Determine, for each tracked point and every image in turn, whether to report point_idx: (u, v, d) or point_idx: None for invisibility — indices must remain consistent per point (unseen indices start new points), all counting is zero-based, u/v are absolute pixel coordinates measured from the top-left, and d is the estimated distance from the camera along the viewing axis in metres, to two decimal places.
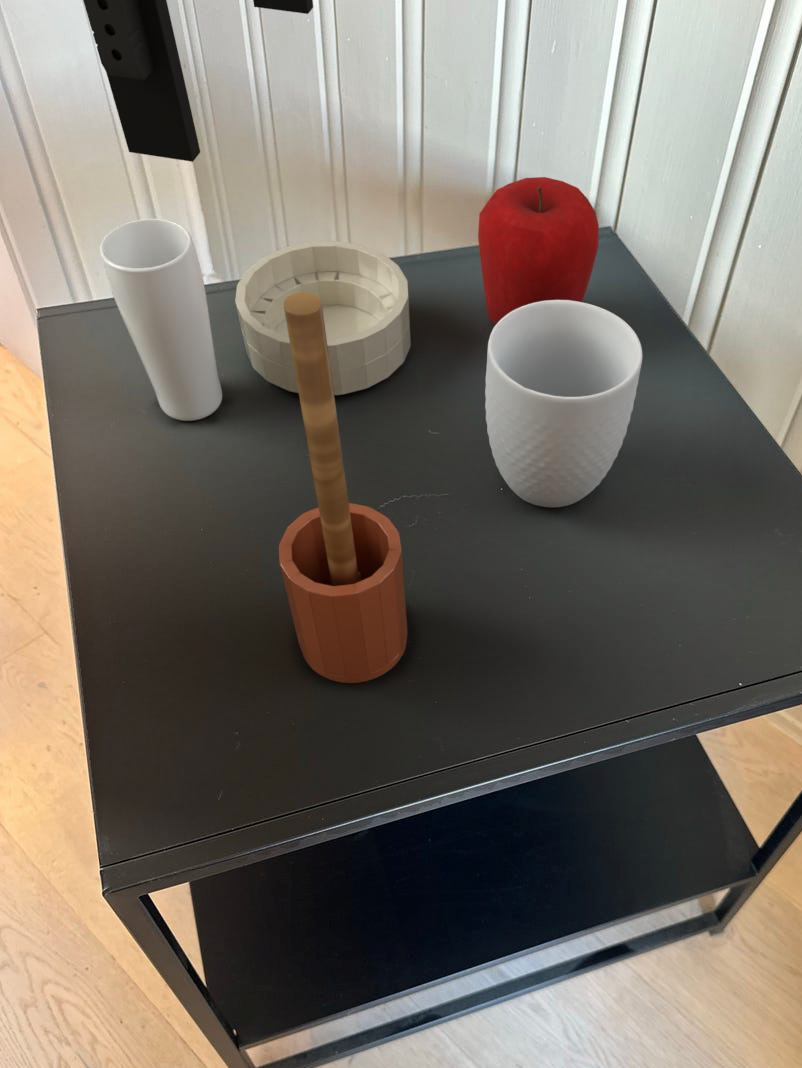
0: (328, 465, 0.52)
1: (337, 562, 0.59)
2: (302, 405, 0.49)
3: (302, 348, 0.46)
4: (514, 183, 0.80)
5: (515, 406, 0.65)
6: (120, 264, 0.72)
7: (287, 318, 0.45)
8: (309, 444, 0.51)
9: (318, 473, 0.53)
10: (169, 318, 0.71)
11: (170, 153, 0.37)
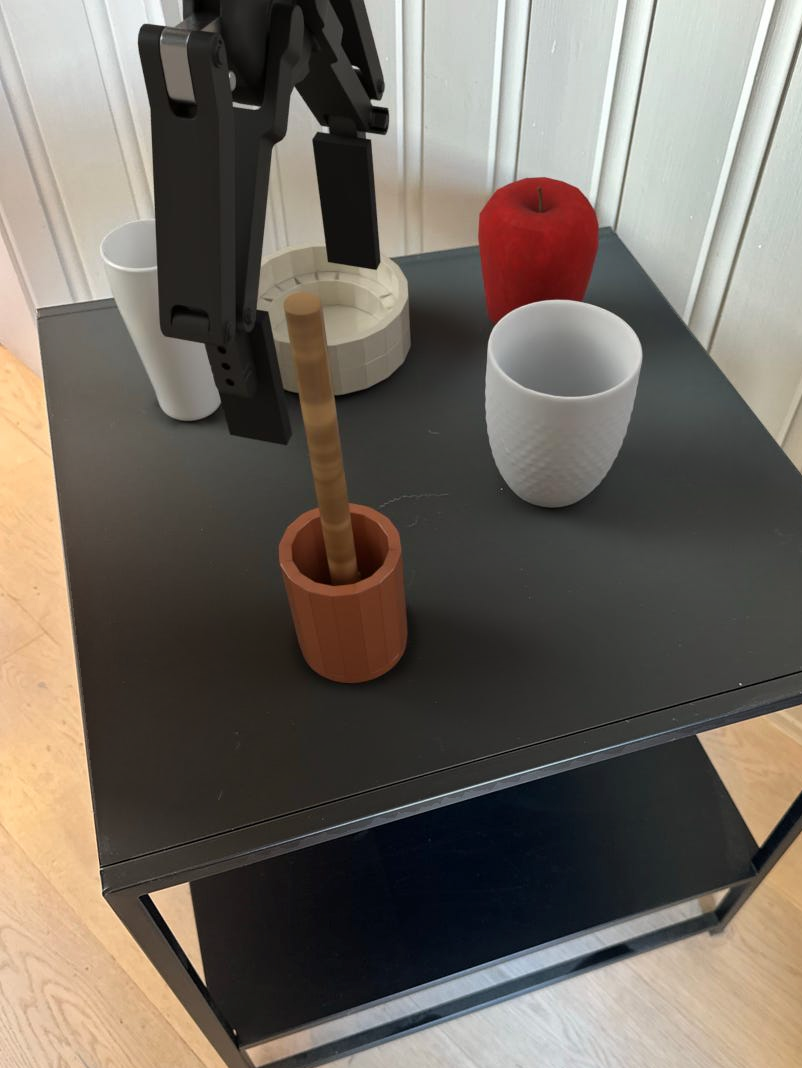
0: (328, 465, 0.52)
1: (337, 562, 0.59)
2: (302, 405, 0.49)
3: (302, 348, 0.46)
4: (514, 183, 0.80)
5: (515, 406, 0.65)
6: (120, 264, 0.72)
7: (287, 318, 0.45)
8: (309, 444, 0.51)
9: (318, 473, 0.53)
10: None
11: (267, 438, 0.42)
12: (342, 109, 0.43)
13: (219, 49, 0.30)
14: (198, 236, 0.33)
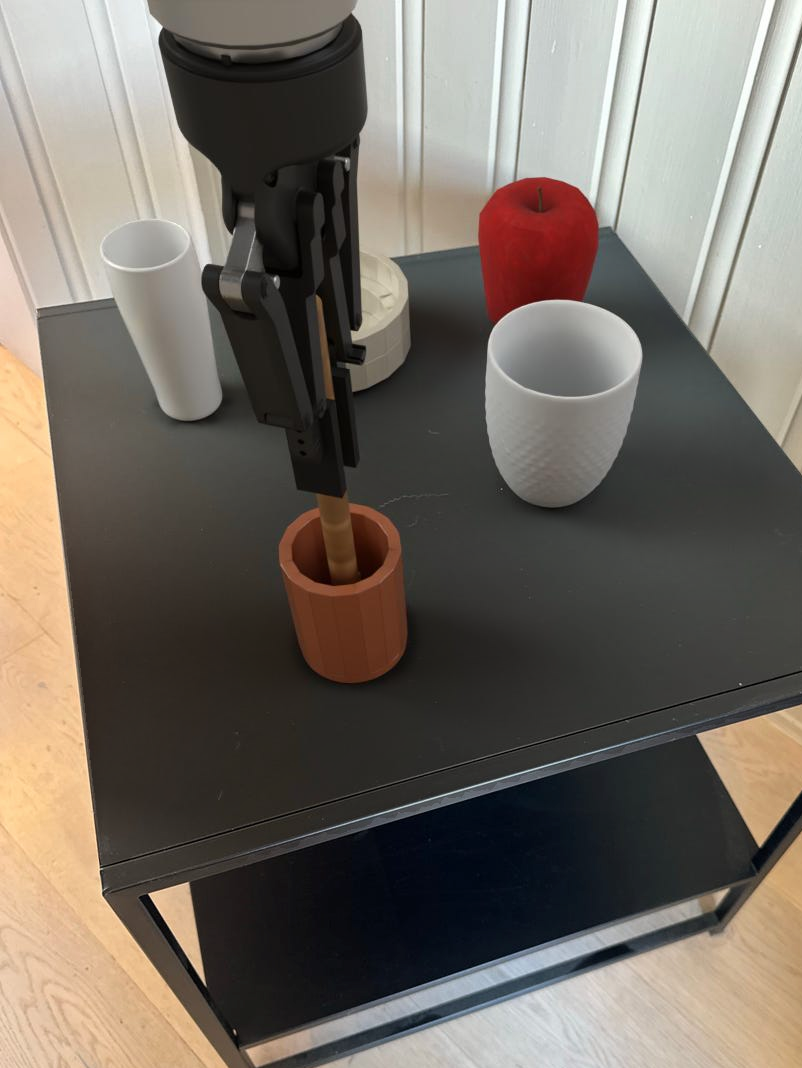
0: None
1: (337, 562, 0.59)
2: None
3: None
4: (514, 183, 0.80)
5: (515, 406, 0.65)
6: (120, 264, 0.72)
7: None
8: None
9: None
10: (169, 318, 0.71)
11: (326, 493, 0.53)
12: (327, 326, 0.47)
13: (266, 289, 0.37)
14: (274, 380, 0.42)
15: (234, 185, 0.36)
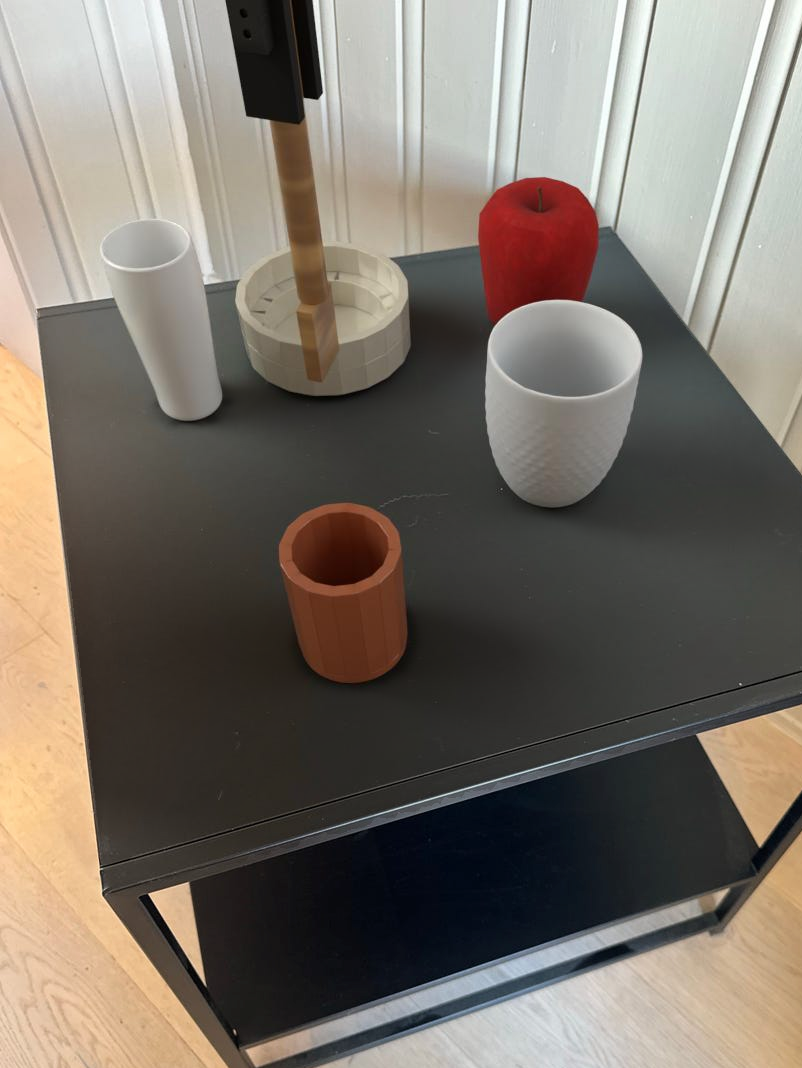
0: None
1: (300, 243, 0.51)
2: None
3: None
4: (514, 183, 0.80)
5: (515, 406, 0.65)
6: (120, 264, 0.72)
7: None
8: None
9: None
10: (169, 318, 0.71)
11: (281, 117, 0.45)
12: None
13: None
14: None
15: None
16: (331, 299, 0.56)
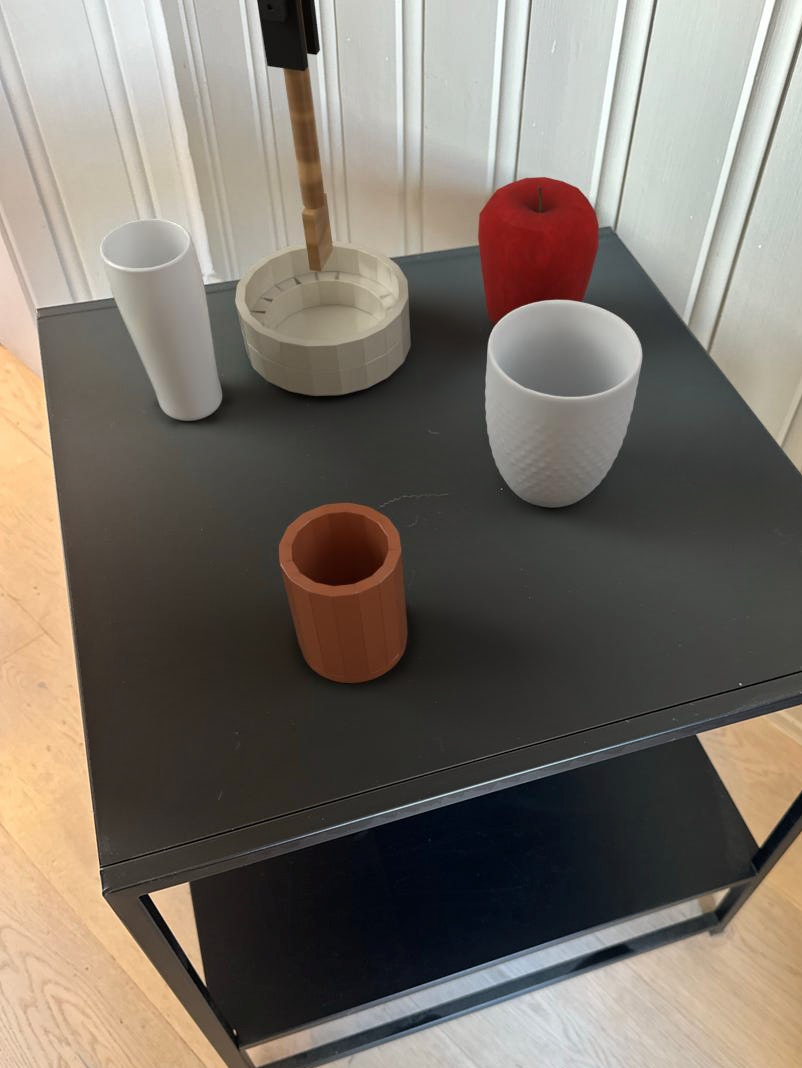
0: None
1: (305, 161, 0.71)
2: None
3: None
4: (514, 183, 0.80)
5: (515, 406, 0.65)
6: (120, 264, 0.72)
7: None
8: None
9: None
10: (169, 318, 0.71)
11: (291, 66, 0.65)
12: None
13: None
14: None
15: None
16: (326, 207, 0.76)
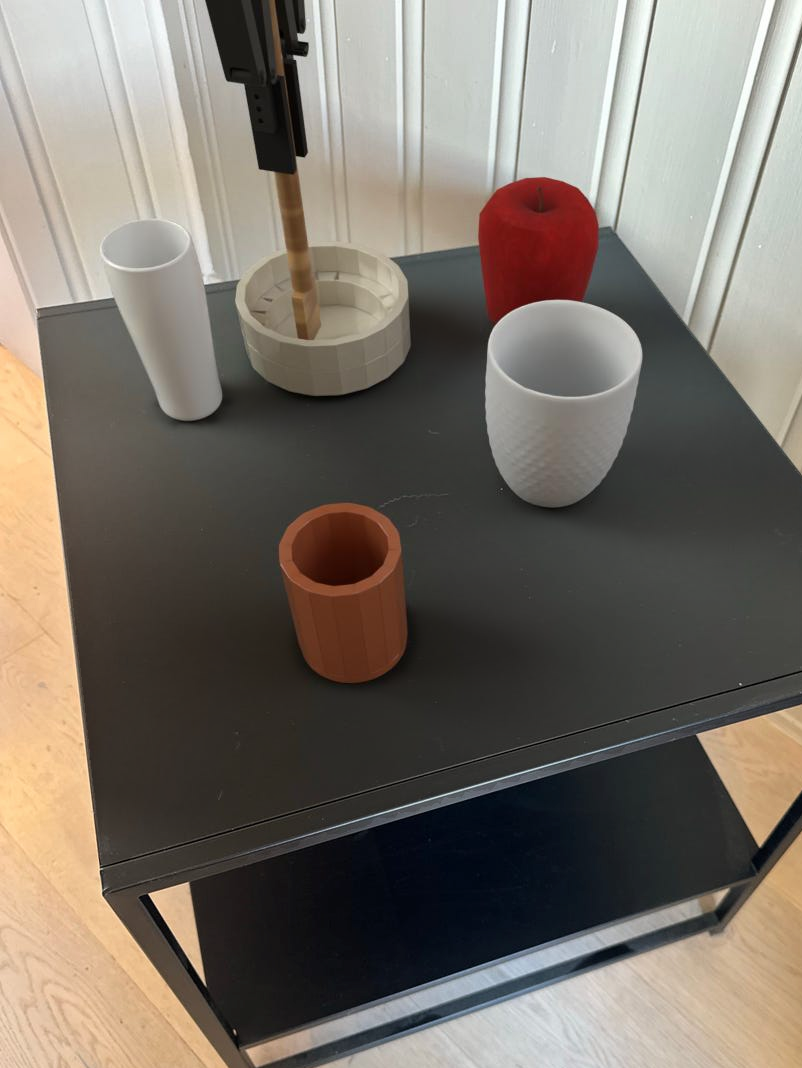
0: None
1: (294, 251, 0.76)
2: None
3: None
4: (514, 183, 0.80)
5: (515, 406, 0.65)
6: (120, 264, 0.72)
7: None
8: None
9: None
10: (169, 318, 0.71)
11: (281, 170, 0.69)
12: (277, 17, 0.64)
13: None
14: (236, 30, 0.59)
15: None
16: (315, 289, 0.81)
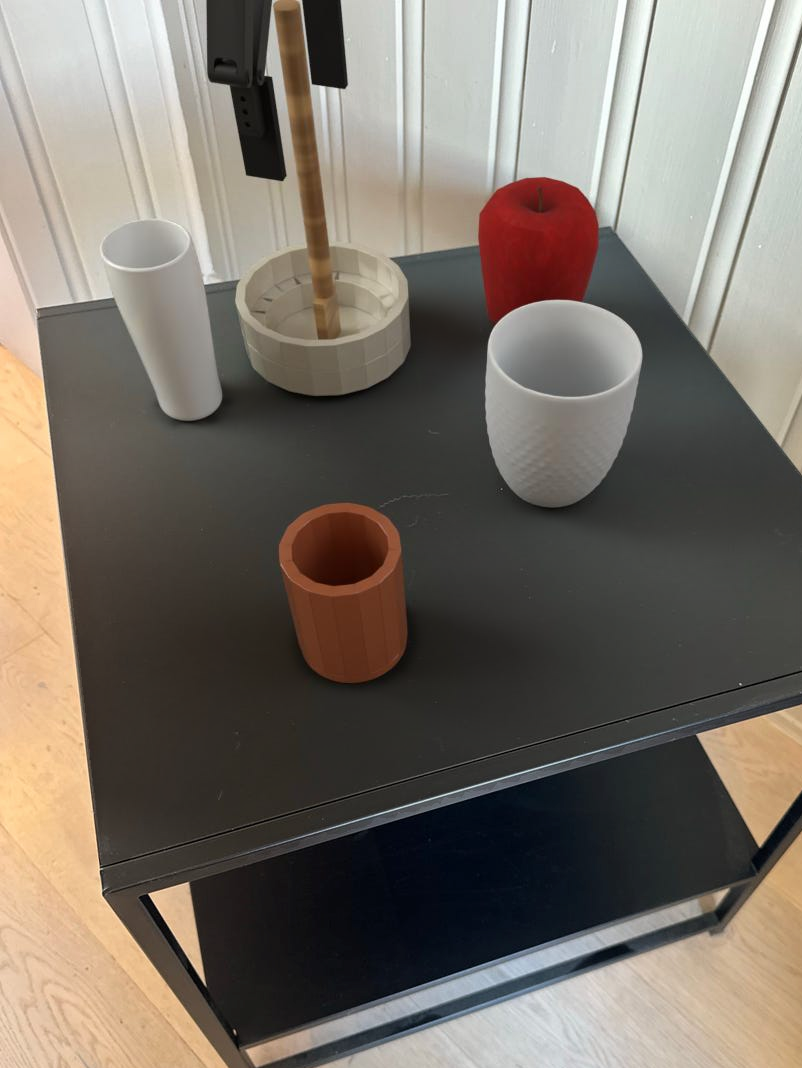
0: (307, 156, 0.70)
1: (316, 258, 0.77)
2: (287, 99, 0.67)
3: (286, 42, 0.64)
4: (514, 183, 0.80)
5: (515, 406, 0.65)
6: (120, 264, 0.72)
7: (275, 15, 0.63)
8: (293, 137, 0.70)
9: (300, 165, 0.71)
10: (169, 318, 0.71)
11: (270, 176, 0.65)
12: None
13: None
14: (231, 12, 0.56)
15: None
16: (335, 295, 0.83)
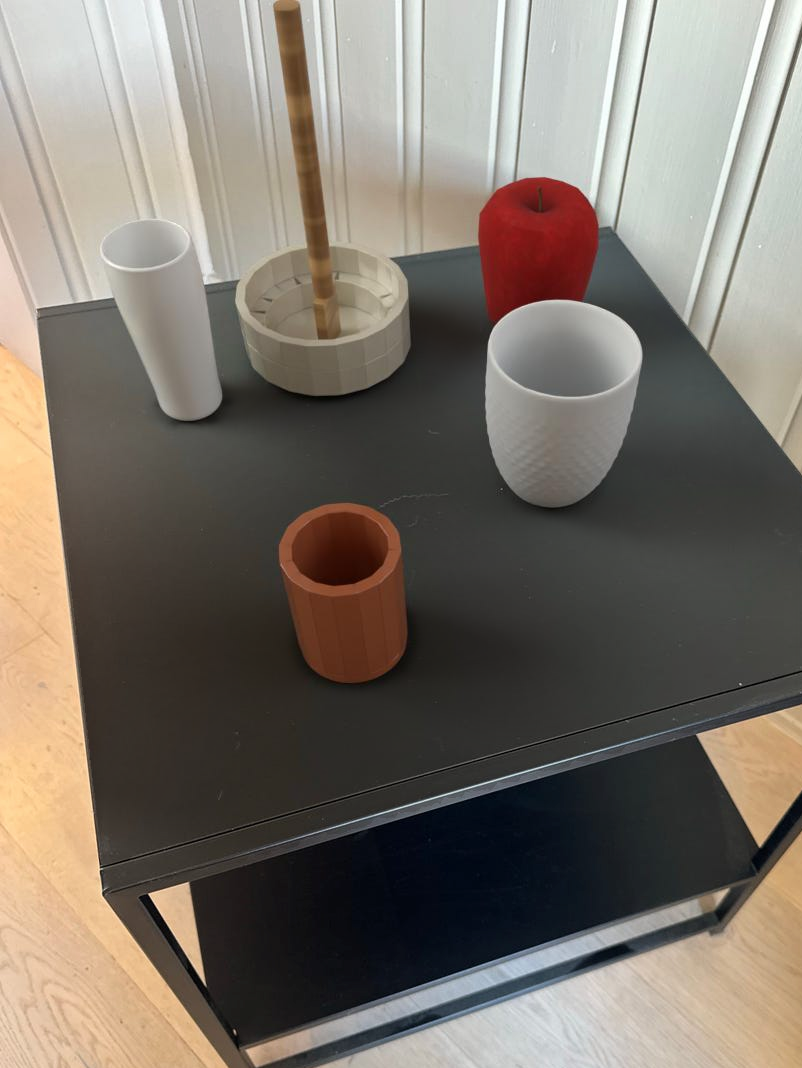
0: (307, 156, 0.70)
1: (316, 258, 0.77)
2: (287, 99, 0.67)
3: (286, 42, 0.64)
4: (514, 183, 0.80)
5: (515, 406, 0.65)
6: (120, 264, 0.72)
7: (275, 15, 0.63)
8: (293, 137, 0.70)
9: (300, 165, 0.71)
10: (169, 318, 0.71)
11: None
12: None
13: None
14: None
15: None
16: (335, 295, 0.83)
